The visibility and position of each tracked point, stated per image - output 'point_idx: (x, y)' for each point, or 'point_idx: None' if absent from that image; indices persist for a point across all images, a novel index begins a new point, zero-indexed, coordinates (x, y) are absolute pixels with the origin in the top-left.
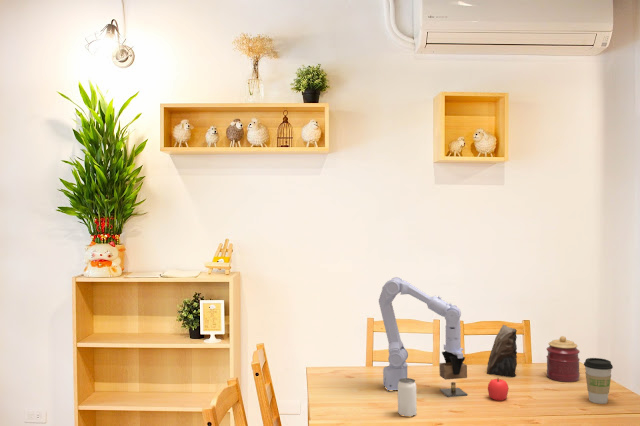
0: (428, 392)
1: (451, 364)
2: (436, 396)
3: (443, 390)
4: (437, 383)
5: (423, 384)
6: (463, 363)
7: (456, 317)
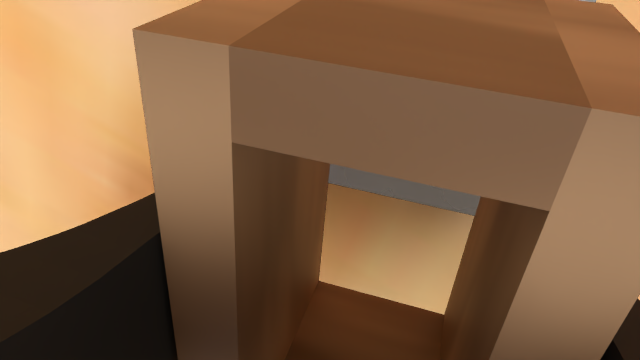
0: (320, 272)
1: (250, 308)
2: (443, 280)
3: (350, 171)
4: (91, 66)
5: (114, 192)
6: (405, 94)
7: None
